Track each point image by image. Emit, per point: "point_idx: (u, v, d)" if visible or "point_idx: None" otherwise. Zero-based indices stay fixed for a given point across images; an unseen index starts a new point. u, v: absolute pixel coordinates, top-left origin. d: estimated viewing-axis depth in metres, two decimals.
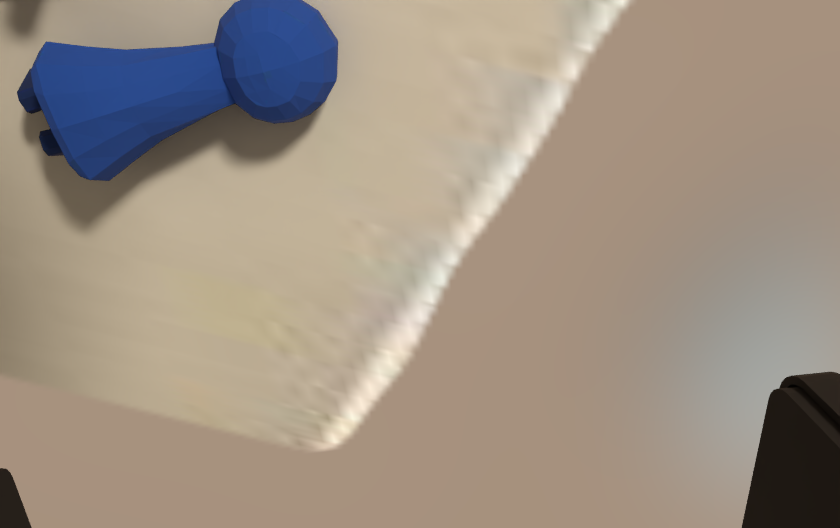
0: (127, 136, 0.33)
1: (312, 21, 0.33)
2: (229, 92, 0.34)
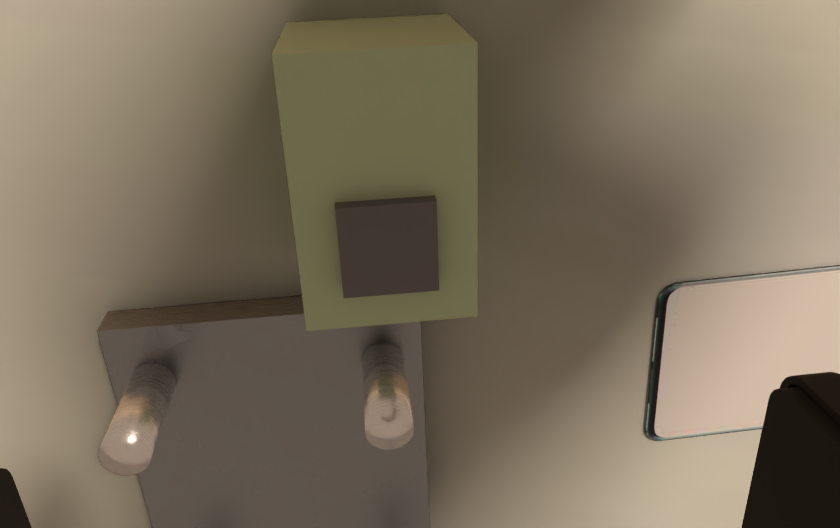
0: None
1: None
2: None
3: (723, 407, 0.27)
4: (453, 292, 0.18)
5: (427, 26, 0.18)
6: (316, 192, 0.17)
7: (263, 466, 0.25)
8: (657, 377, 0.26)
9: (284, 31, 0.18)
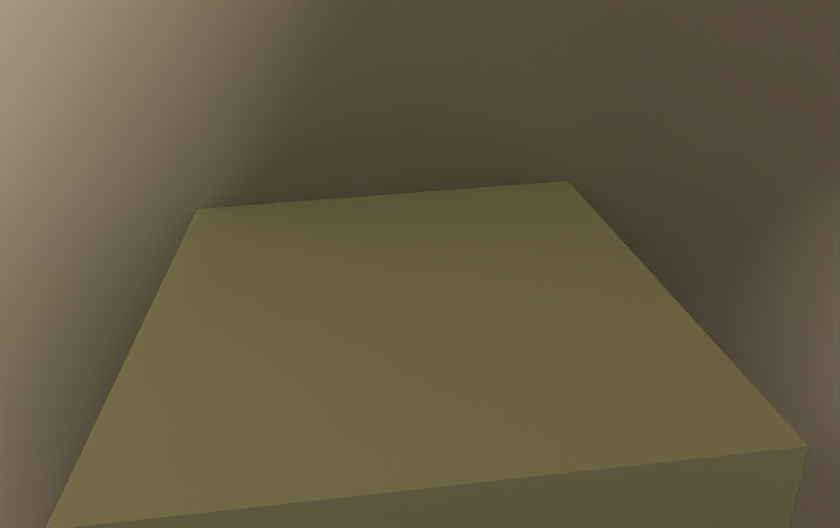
0: None
1: None
2: None
3: None
4: None
5: (553, 264, 0.07)
6: None
7: None
8: None
9: (172, 273, 0.07)
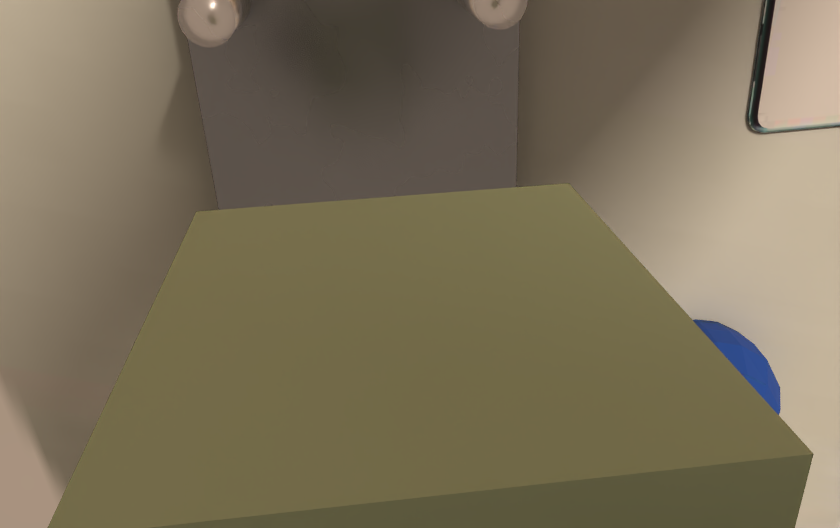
0: None
1: (768, 374, 0.27)
2: None
3: (833, 91, 0.25)
4: None
5: (555, 268, 0.07)
6: None
7: (341, 127, 0.23)
8: (766, 45, 0.24)
9: (171, 277, 0.07)
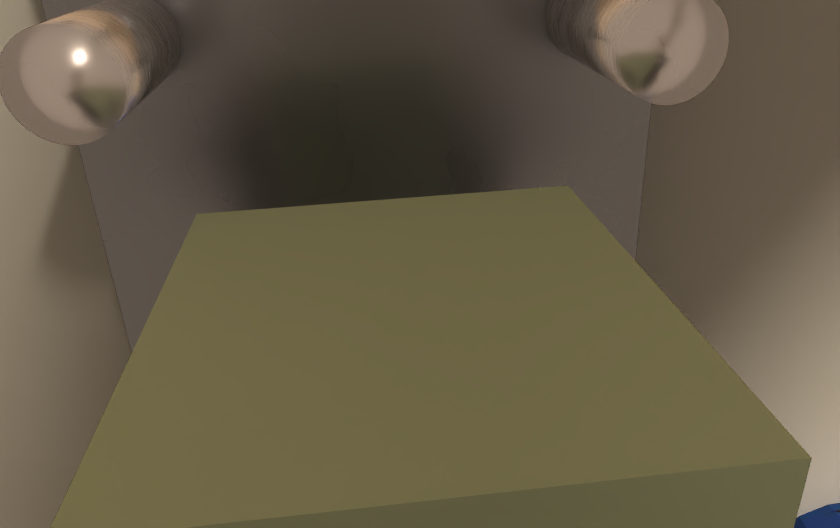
0: None
1: None
2: None
3: None
4: None
5: (554, 271, 0.07)
6: None
7: None
8: None
9: (171, 280, 0.07)
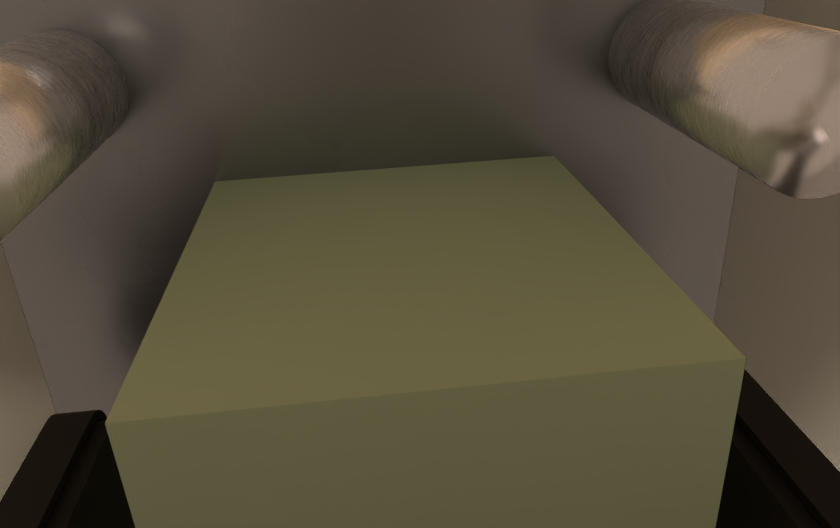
0: None
1: None
2: None
3: None
4: None
5: (538, 223, 0.08)
6: None
7: None
8: None
9: (196, 234, 0.08)
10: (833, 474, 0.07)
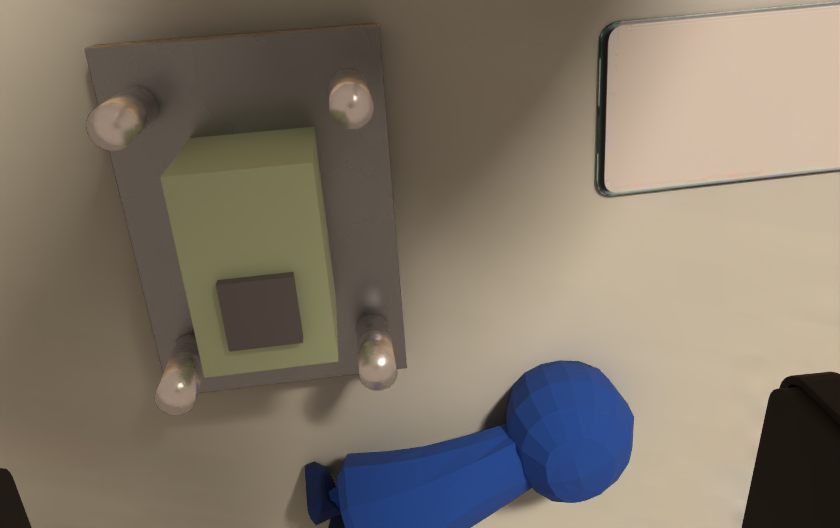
0: None
1: (617, 406, 0.31)
2: (528, 483, 0.32)
3: (667, 160, 0.30)
4: (316, 343, 0.24)
5: (289, 143, 0.24)
6: (202, 273, 0.23)
7: None
8: (604, 124, 0.29)
9: (182, 150, 0.24)
10: None
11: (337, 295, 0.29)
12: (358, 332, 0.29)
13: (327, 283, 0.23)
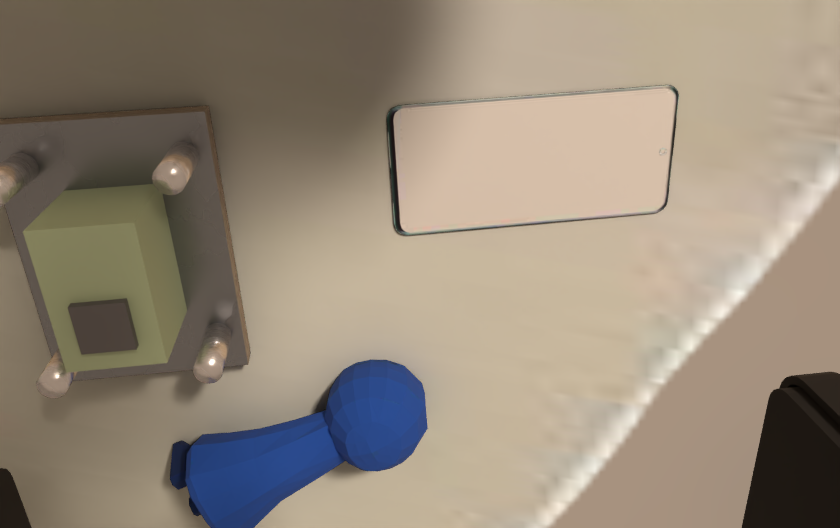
0: (264, 509, 0.40)
1: (405, 396, 0.39)
2: (341, 456, 0.40)
3: (449, 208, 0.38)
4: (149, 349, 0.33)
5: (130, 201, 0.32)
6: (59, 298, 0.31)
7: None
8: (396, 181, 0.37)
9: (51, 203, 0.32)
10: None
11: (188, 308, 0.37)
12: (203, 337, 0.37)
13: (153, 306, 0.32)
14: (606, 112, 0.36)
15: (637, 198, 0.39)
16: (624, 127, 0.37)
